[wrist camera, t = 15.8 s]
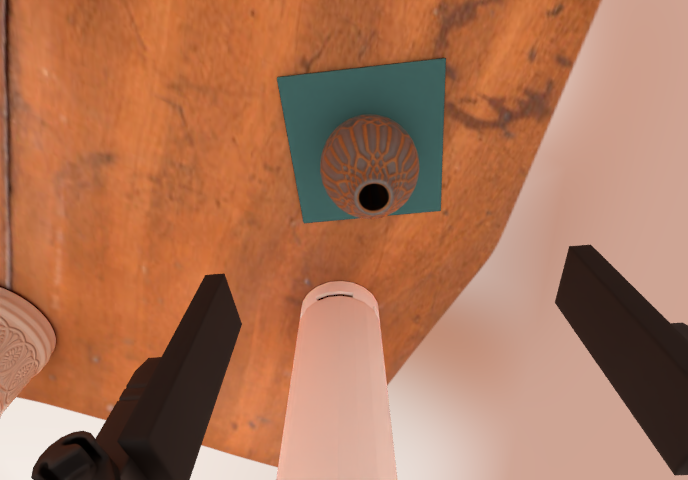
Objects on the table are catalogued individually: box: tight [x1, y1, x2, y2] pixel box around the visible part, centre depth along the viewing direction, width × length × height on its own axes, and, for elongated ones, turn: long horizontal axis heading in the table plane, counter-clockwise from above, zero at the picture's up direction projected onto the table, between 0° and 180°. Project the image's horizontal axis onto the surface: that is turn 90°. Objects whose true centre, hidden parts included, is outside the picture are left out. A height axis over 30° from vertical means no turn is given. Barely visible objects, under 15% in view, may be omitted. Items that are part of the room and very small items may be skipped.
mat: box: [277, 58, 446, 223], centre depth 30 cm, size 12×12×1 cm
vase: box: [320, 114, 419, 219], centre depth 26 cm, size 7×7×9 cm
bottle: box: [276, 281, 397, 480], centre depth 27 cm, size 8×8×28 cm
